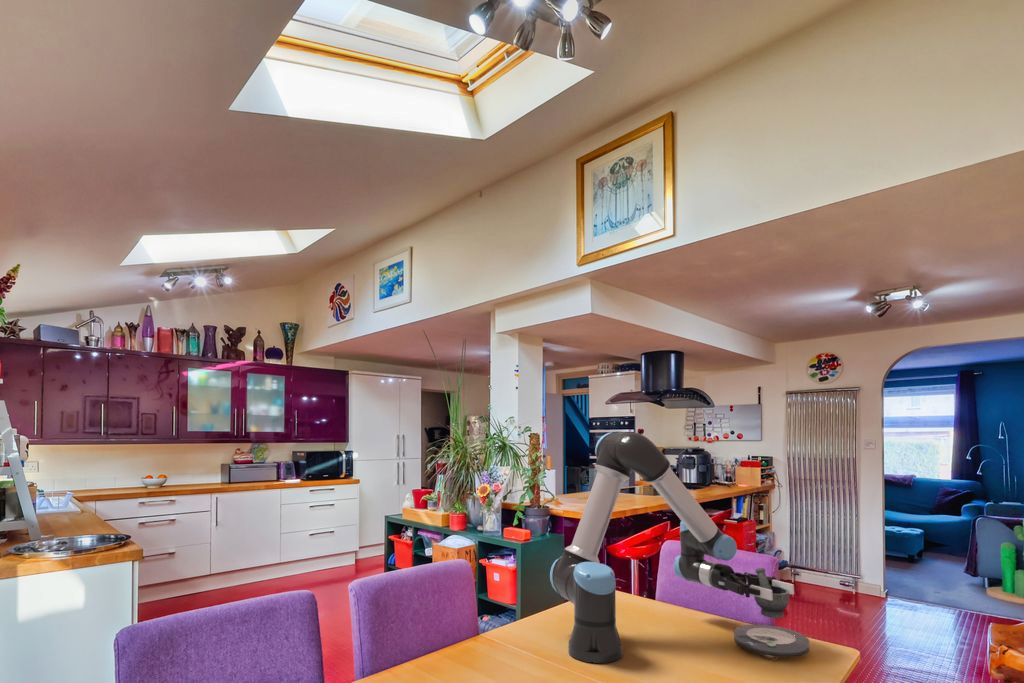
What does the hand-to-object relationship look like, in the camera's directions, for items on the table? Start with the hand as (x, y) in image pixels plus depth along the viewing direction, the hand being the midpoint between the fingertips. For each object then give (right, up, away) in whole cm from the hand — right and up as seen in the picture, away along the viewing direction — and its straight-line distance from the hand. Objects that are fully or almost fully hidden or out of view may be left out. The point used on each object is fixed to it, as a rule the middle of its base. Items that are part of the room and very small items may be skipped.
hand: (782, 592), depth 172 cm
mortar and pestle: (-2, -8, +3) cm, 8 cm away
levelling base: (-3, -17, +1) cm, 17 cm away
